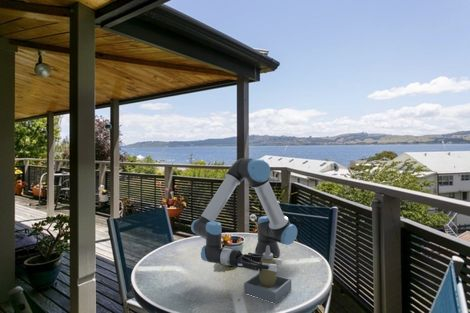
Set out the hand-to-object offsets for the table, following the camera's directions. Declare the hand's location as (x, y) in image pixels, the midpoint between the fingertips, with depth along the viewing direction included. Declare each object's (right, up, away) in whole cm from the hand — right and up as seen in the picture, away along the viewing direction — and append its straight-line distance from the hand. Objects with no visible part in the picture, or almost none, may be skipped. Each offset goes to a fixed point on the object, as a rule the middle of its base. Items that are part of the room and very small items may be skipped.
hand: (278, 265), depth 138 cm
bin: (-4, -13, +3) cm, 14 cm away
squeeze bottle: (-5, -10, +2) cm, 11 cm away
